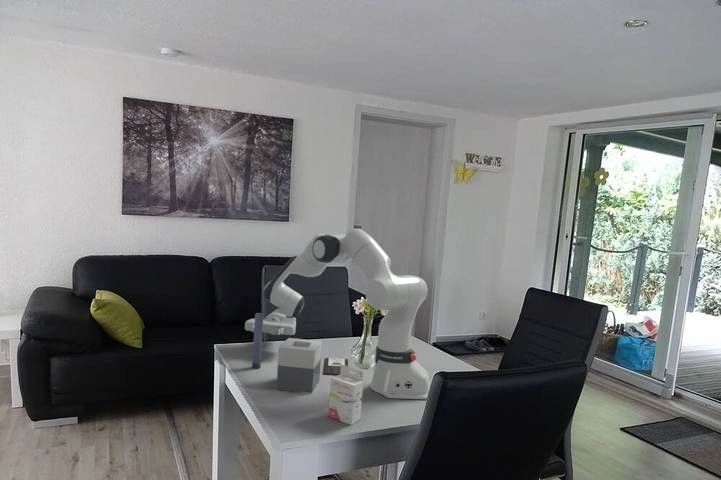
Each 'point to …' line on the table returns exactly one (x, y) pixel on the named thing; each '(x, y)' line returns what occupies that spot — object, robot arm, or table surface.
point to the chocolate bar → (334, 365)
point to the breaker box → (299, 365)
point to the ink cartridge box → (346, 395)
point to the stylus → (257, 341)
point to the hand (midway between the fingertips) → (265, 331)
